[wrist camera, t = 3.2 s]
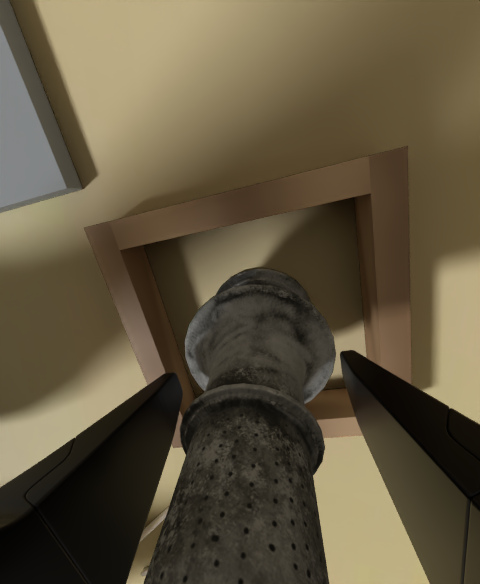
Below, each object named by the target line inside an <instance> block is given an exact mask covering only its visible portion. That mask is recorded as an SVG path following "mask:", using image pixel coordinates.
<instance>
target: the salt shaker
mask: <svg viewBox="0 0 480 584" xmlns="http://www.w3.org/2000/svg"><path fill="white" fill-rule="evenodd" d="M185 357H186V360H187V363H188V366H189V369H190V372H191V374H192V376H193V377H194V379H195V380H196V382H197V383H198V385H199V386H200V387H201V388H202V389H203V390H204V391H205V392H204V393H203V394H202V395H201V396H199V397H198V398H196V399H195V400H193V402H192V403H191V404H190V406H189V407H188V408H187V410H186V411H185V413H184V415H183V418H182V422H181V425H180V441H181V444H182V447H183V449H184V452H185V454H186V458H185V461H184V464H183V467H182V470H181V473H180V476H179V479H178V482H177V485H176V488H175V491H174V494H173V497H172V500H171V503H170V506H169V509H168V512H167V515H166V518H165V521H164V523H163V526H162V529H161V532H160V535H159V538H158V541H157V544H156V547H155V550H154V553H153V556H152V559H151V562H150V565H149V568H148V571H147V575H146V578H145V581H144V584H329V579H328V572H327V566H326V559H325V553H324V546H323V539H322V533H321V526H320V520H319V513H318V506H317V500H316V493H315V487H314V480H313V475H314V474H315V472H316V471H317V469H318V468H319V466H320V464H321V463H322V460H323V455H324V450H325V445H324V440H323V434H322V430H321V428H320V426H319V424H318V422H317V421H316V419H315V417H314V415H313V414H312V413H311V412H310V411H309V410H308V409H307V408H306V407H305V404H306V403H307V402H309V401H311V400H312V399H313V398H314V397H315V396H316V395H317V394H318V393H319V392H320V391H321V390H322V389H323V388H324V387H325V385H326V384H327V382H328V380H329V378H330V376H331V374H332V372H333V368H334V363H335V357H336V352H335V344H334V337H333V335H332V333H331V330H330V328H329V326H328V324H327V322H326V320H325V318H324V317H323V316H322V315H321V314H320V313H319V311H318V310H317V309H316V308H315V307H314V306H313V305H312V304H311V301H310V299H309V297H308V295H307V293H306V291H305V290H304V289H303V288H302V287H301V285H300V284H299V283H298V282H297V281H296V280H294V279H293V278H291V277H289V276H288V275H286V274H285V273H282V272H279V271H276V270H272V269H261V268H256V269H251V270H246V271H242V272H240V273H238V274H236V275H234V276H232V277H231V278H230V279H228V280H227V281H226V282H225V283H224V284H223V285H222V286H221V287H220V289H219V290H218V292H217V294H216V295H215V296H213V297H212V298H211V299H210V300H209V301H207V302H206V303H205V304H204V305H203V306H202V307H201V308H199V310H198V311H197V313H196V314H195V316H194V318H193V319H192V321H191V322H190V324H189V327H188V331H187V335H186V338H185Z"/></svg>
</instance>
